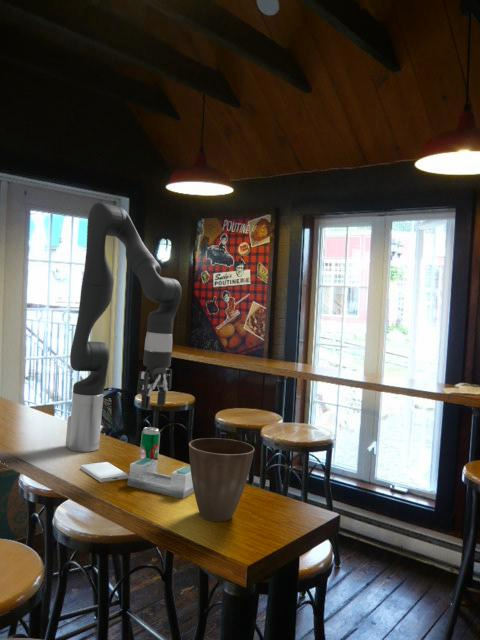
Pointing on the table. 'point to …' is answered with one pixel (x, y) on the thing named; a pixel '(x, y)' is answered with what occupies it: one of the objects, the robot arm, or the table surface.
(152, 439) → the soda can
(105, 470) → the hard drive
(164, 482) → the grey u-shaped block
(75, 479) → the table surface
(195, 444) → the plant pot
